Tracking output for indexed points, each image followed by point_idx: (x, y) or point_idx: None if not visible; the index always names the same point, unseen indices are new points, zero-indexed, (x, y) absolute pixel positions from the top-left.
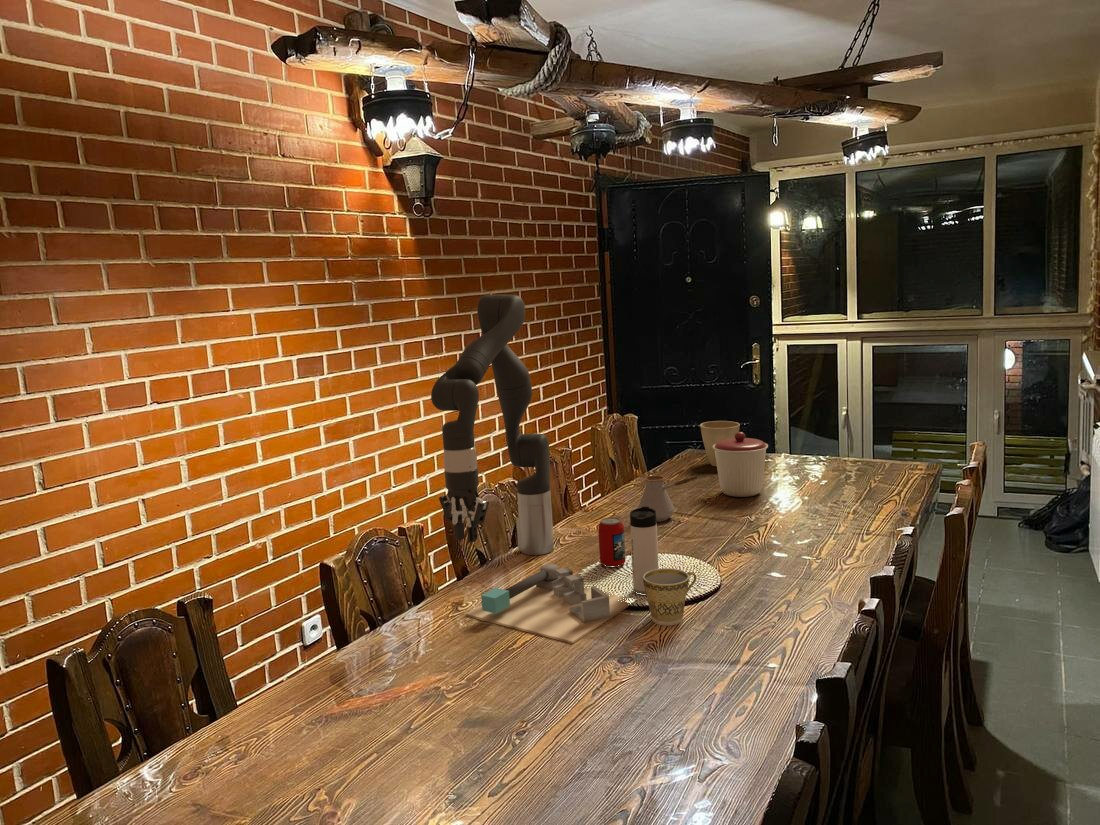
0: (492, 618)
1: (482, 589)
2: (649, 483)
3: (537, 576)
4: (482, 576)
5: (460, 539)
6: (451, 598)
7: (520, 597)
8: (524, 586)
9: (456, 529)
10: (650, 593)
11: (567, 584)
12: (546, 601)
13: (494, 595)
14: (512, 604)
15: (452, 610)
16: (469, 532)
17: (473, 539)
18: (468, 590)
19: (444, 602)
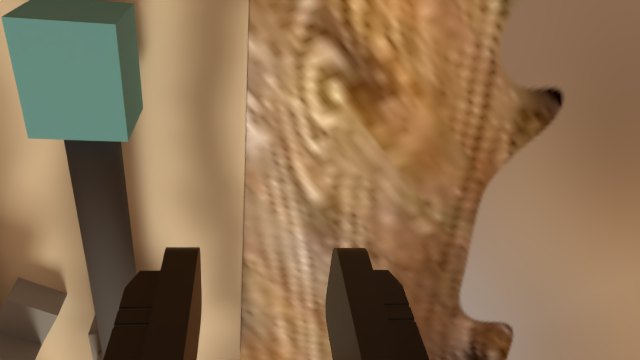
0: None
1: (356, 229)
2: None
3: (100, 326)
4: (423, 304)
5: (331, 265)
6: (424, 119)
7: (155, 224)
8: (82, 242)
9: (374, 330)
10: None
11: (8, 341)
12: (33, 236)
13: (41, 53)
14: (131, 162)
15: (346, 19)
16: (149, 328)
17: (131, 280)
18: (402, 202)
19: (431, 74)
